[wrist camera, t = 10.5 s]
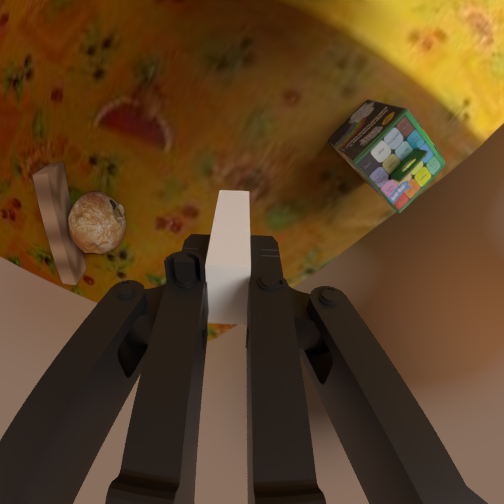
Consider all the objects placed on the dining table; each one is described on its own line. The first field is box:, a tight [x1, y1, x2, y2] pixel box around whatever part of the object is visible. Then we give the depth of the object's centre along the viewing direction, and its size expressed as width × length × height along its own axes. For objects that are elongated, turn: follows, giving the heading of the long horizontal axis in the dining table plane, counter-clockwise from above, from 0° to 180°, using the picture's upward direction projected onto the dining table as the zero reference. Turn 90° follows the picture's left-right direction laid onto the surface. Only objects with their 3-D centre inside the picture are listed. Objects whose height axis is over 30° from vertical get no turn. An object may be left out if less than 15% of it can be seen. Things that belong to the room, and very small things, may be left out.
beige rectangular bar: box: [33, 163, 87, 285], centre depth 42 cm, size 20×3×5 cm, turn 177°
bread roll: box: [68, 191, 126, 254], centre depth 43 cm, size 10×10×8 cm
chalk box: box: [328, 100, 445, 213], centre depth 33 cm, size 9×9×15 cm
